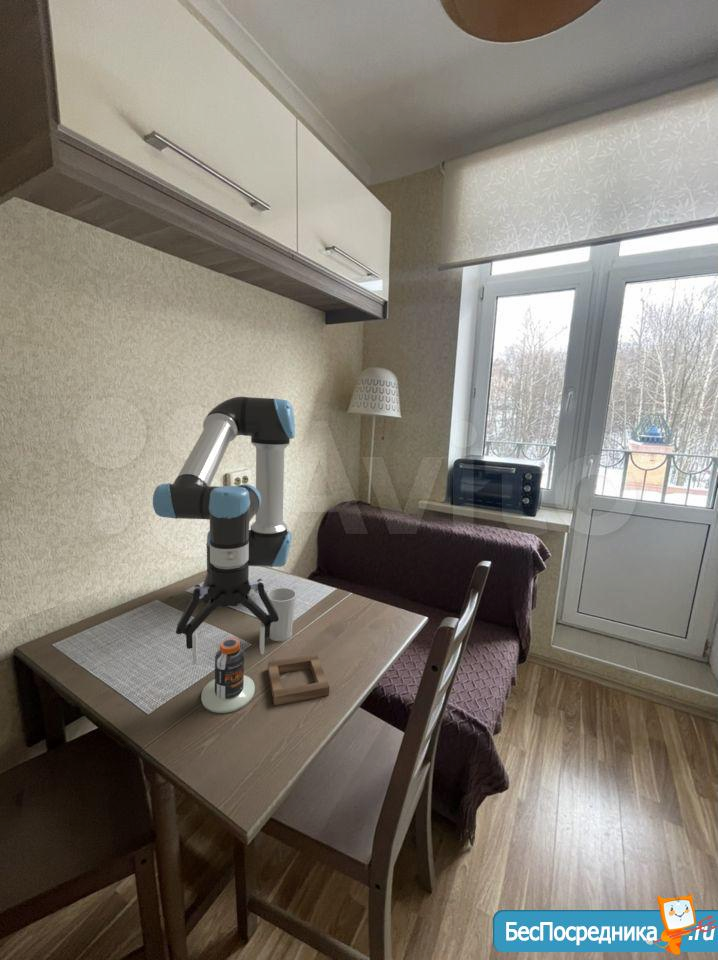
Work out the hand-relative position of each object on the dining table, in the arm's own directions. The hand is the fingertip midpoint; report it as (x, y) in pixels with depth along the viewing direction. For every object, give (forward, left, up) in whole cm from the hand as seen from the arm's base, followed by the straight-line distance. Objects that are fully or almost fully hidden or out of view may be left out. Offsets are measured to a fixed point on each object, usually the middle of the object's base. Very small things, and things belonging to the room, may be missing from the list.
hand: (229, 655), depth 83 cm
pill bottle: (0, 0, -8) cm, 8 cm away
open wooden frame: (0, +15, -9) cm, 17 cm away
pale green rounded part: (0, 0, -9) cm, 9 cm away
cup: (-20, +14, -9) cm, 26 cm away
